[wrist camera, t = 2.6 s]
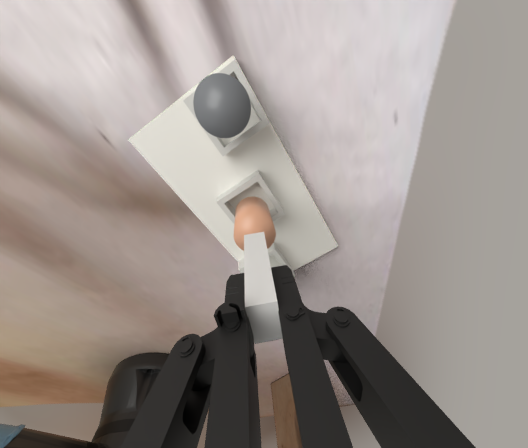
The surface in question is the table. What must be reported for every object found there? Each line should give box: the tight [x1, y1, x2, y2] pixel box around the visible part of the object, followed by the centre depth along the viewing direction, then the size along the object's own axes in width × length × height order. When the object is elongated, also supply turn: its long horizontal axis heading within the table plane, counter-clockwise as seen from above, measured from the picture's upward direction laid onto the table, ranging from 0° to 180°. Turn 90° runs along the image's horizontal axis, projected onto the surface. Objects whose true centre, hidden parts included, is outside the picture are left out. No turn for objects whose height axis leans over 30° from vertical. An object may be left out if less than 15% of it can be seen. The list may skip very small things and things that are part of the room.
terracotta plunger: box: [234, 196, 276, 251], centre depth 20 cm, size 4×4×5 cm
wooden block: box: [271, 374, 302, 448], centre depth 37 cm, size 9×4×18 cm, turn 130°
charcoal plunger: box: [193, 73, 251, 138], centre depth 15 cm, size 4×4×5 cm
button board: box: [128, 56, 338, 277], centre depth 24 cm, size 13×25×3 cm, turn 32°
